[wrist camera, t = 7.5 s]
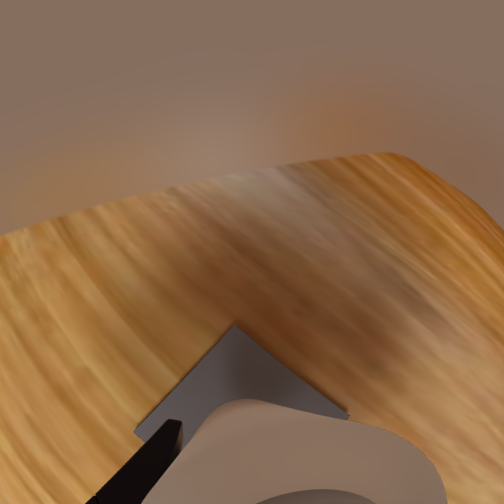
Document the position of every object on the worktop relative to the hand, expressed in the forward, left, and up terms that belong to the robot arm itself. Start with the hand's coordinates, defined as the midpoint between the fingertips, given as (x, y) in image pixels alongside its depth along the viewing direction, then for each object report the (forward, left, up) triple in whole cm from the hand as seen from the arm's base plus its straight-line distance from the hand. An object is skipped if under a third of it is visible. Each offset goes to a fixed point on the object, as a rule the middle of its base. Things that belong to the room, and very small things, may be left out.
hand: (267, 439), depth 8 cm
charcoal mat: (-1, +1, -12) cm, 12 cm away
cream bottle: (-1, +1, -7) cm, 7 cm away
